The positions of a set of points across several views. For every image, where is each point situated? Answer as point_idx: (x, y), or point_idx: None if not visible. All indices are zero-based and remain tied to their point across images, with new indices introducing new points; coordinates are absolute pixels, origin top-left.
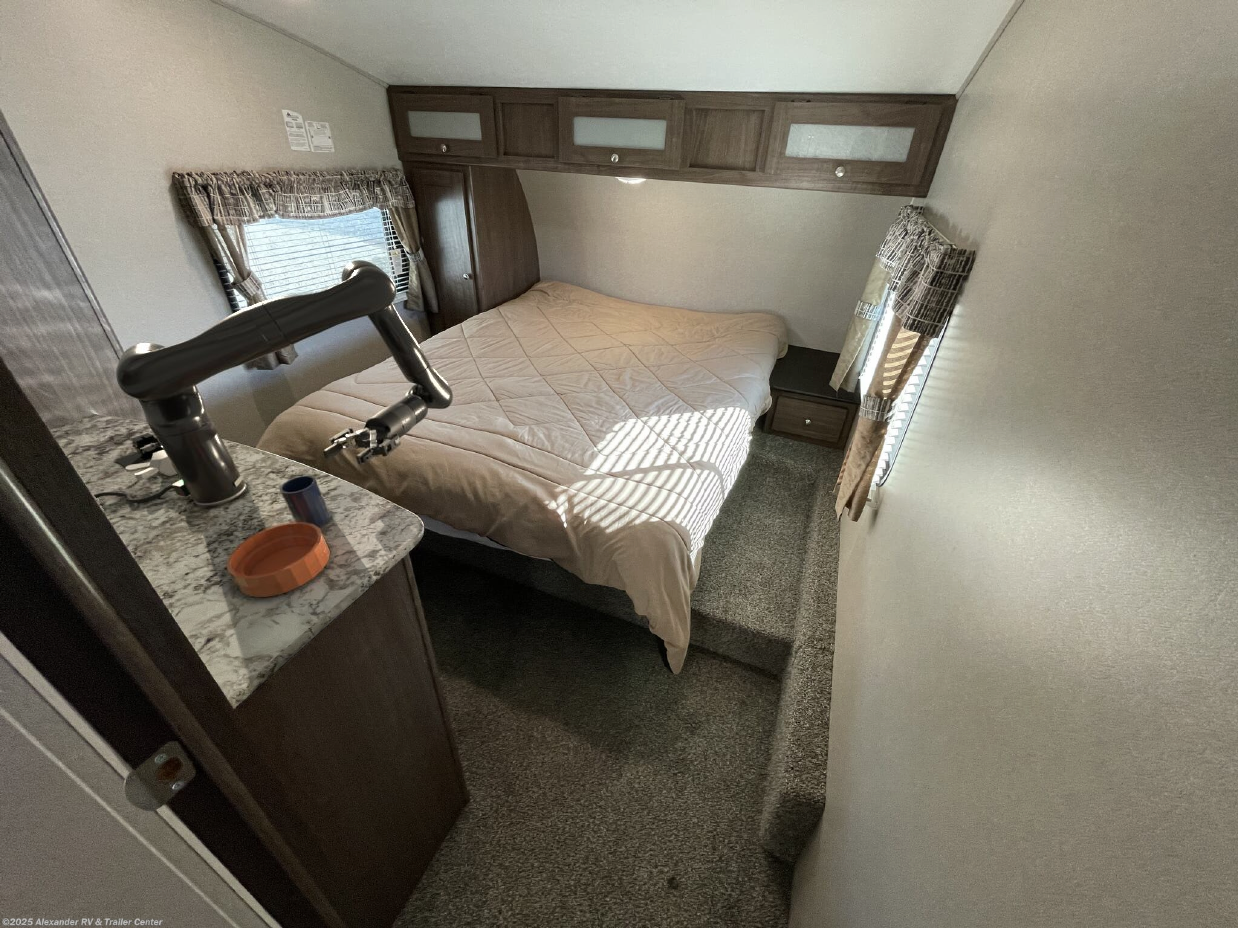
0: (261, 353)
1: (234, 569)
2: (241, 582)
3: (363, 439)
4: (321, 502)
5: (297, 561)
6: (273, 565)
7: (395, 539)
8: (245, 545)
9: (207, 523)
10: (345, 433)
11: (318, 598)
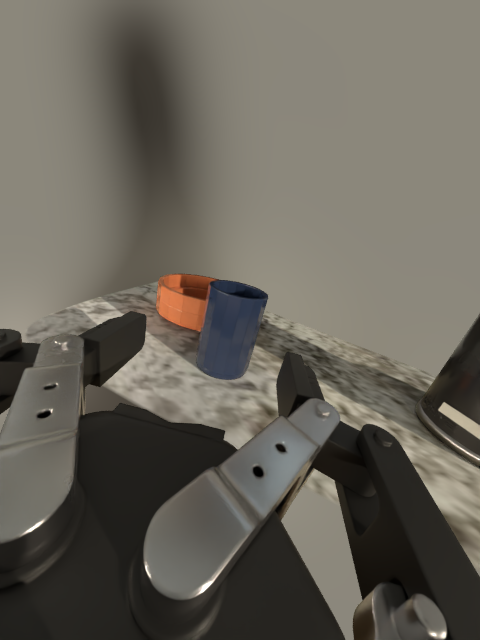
0: None
1: None
2: None
3: (153, 423)
4: (202, 325)
5: (171, 275)
6: None
7: (62, 319)
8: None
9: (371, 375)
10: (412, 559)
11: (150, 293)
